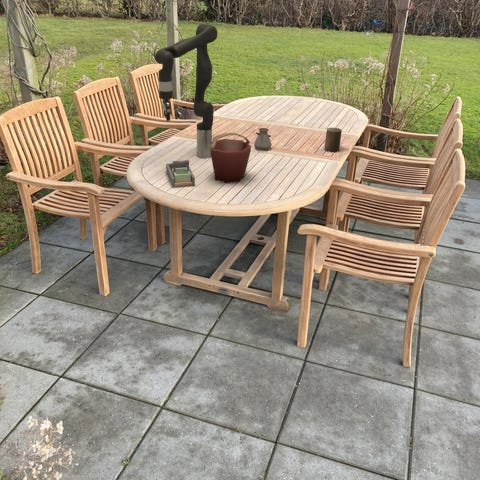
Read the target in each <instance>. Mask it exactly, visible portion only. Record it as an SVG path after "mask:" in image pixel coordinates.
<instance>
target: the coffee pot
mask: <svg viewBox="0 0 480 480" xmlns="http://www.w3.org/2000/svg"><path fill="white" fill-rule="evenodd" d="M257 130H258V131H259V132H257V131H256V132H254V133H253V135H255V134H256V138H255V141H254V147H255V148H256V149H257V150H258V151H268V150H269V149H270V148H272V146H273V144H272V141H271V139H270V136H269V134H268V132H269V131H270V130H269V129H268V128H267V127H260V128H258V129H257Z"/></svg>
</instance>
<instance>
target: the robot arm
mask: <svg viewBox="0 0 480 480" xmlns="http://www.w3.org/2000/svg"><path fill="white" fill-rule="evenodd" d="M217 38H218V29H217V28H216V26H215V25H212V24H206V23H200V24H198V26H196V31H195V35H194V36H190V37H187V38H184V39H182V40H181V39H180V40H179V41H177V42H175V43H173V44H172V45H169V46H166V47H163V48H160V49H158V50H157V51H156V52H155V54H154V59H155V61H156V62H157V63H158V64H159V65H162V68H161V69H159V70H158V98H159V99H160V100H162V101H161V103H162V106H161V107H162V109H163V116H164V118H165V120H166V122H169V121H171V114H172V111H171V110H172V109H171V108H172V107H171V101H170V100H171V99H173V98H174V91H173V90H174V89H173V78H172V73H173V68H174V62H175V59H178V58H180V57H182V56H184V55H185V54H187V53H189V52H191V51H193V50H196V66H195V67H196V69H195V71H196V72H195V91H194V92H195V93H194V101H193V113H194V115H195V116H196V117H199V118H202V121H200V122H197V123H196V157H198V158H200V159H207V158H211V152H210V148H209V146H210V142H212V141H213V136H212V135H213V124H214V112H215V111H214V105H213V104H212V103H211V102H207V101H205V93H206V91H207V89H208V87H209V85H210V84H211V82H212V78H213V65H212V61H211V58H210V56H209V55H210V54H209V51H208V44H211V43H214V42H215V41H216V40H217Z"/></svg>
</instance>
